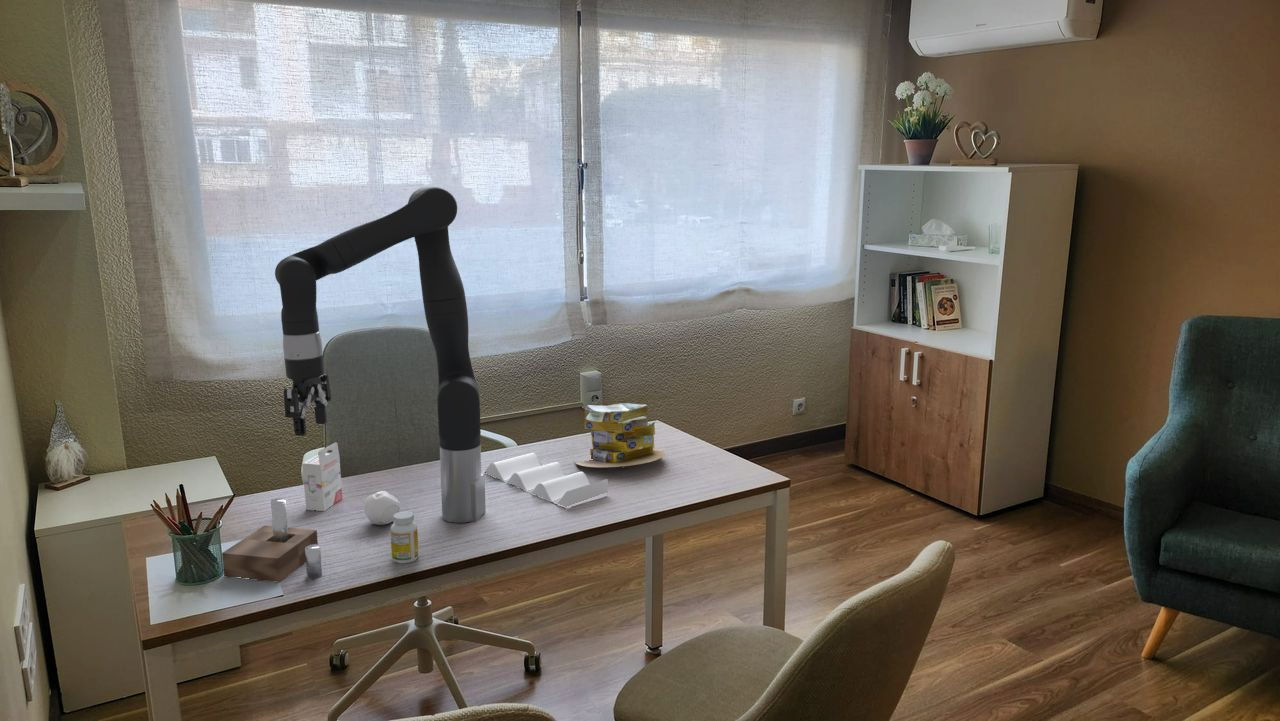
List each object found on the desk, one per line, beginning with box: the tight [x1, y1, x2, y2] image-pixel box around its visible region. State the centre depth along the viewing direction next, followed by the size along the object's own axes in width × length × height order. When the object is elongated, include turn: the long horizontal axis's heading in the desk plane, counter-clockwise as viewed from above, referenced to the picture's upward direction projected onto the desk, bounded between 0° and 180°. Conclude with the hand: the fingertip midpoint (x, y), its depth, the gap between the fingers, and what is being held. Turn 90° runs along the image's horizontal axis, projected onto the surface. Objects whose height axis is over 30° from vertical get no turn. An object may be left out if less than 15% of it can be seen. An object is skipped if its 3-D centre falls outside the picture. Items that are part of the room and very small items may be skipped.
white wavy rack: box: [484, 452, 609, 507], centre depth 224 cm, size 13×35×5 cm, turn 44°
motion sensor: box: [363, 490, 401, 526], centre depth 197 cm, size 8×8×8 cm
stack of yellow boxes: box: [575, 402, 666, 468], centre depth 239 cm, size 25×25×17 cm
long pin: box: [270, 497, 289, 543], centre depth 177 cm, size 3×3×13 cm
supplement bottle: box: [390, 510, 419, 564], centre depth 179 cm, size 5×5×10 cm
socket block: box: [221, 525, 319, 583], centre depth 176 cm, size 12×14×5 cm
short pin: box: [305, 544, 323, 580], centre depth 172 cm, size 3×3×6 cm
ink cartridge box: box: [301, 441, 343, 512], centre depth 207 cm, size 9×5×15 cm, turn 168°
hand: (311, 429), depth 184 cm, fingers open, 8 cm apart
